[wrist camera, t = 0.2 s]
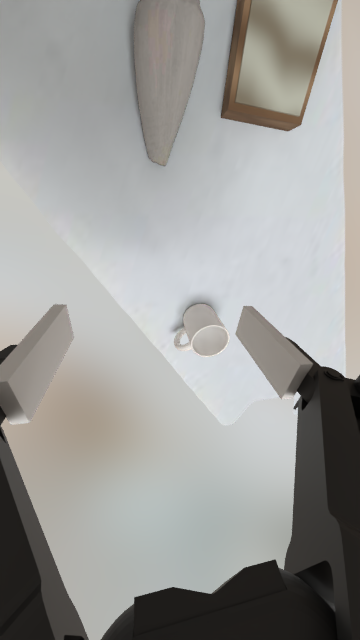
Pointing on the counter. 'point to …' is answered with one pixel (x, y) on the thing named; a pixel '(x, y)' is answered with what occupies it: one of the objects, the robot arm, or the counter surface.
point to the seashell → (165, 67)
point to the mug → (202, 331)
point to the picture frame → (275, 60)
